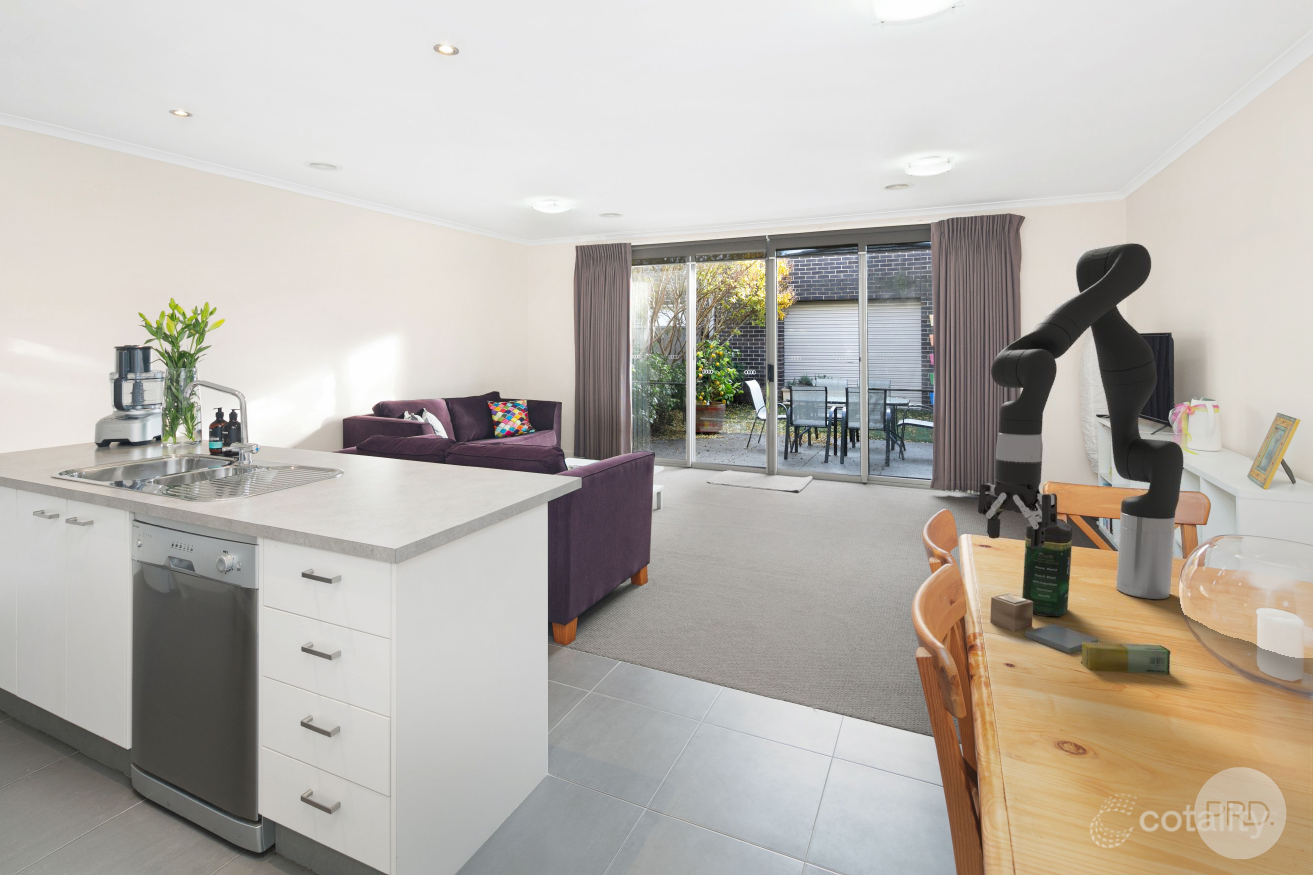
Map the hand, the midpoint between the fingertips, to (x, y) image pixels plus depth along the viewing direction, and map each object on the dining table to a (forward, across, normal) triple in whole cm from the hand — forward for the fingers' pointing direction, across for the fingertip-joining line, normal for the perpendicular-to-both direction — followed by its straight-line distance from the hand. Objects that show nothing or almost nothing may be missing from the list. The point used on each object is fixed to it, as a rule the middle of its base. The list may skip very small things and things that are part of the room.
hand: (1014, 542), depth 121 cm
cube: (+16, 0, 0) cm, 16 cm away
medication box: (+16, -20, 0) cm, 26 cm away
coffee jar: (+16, +2, -13) cm, 21 cm away
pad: (+16, -9, -1) cm, 18 cm away
